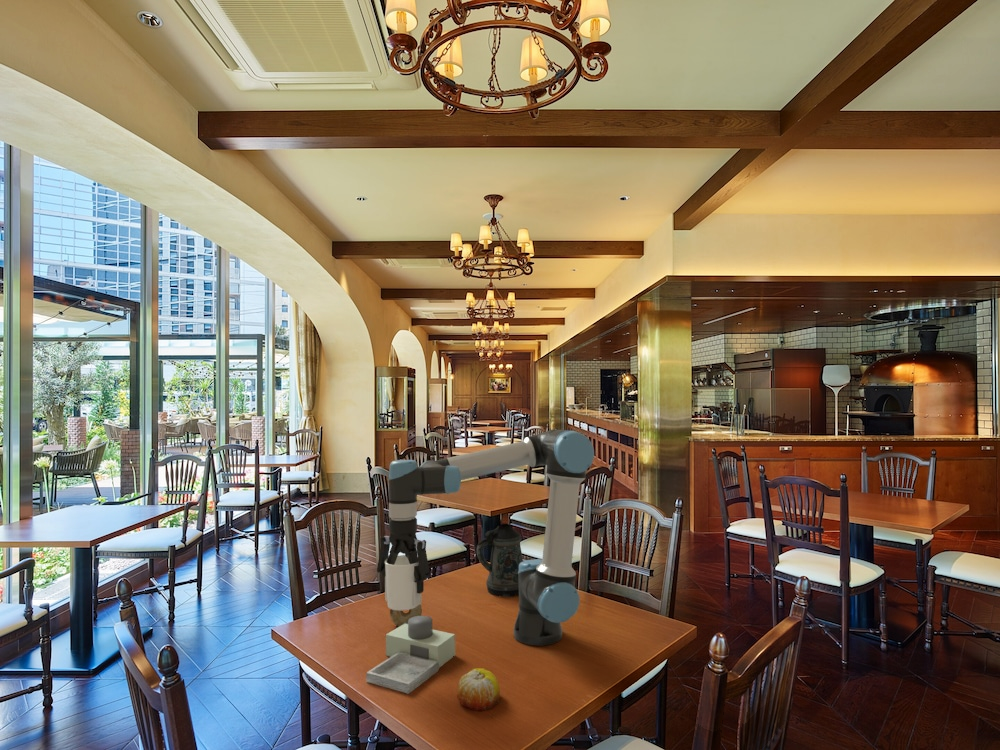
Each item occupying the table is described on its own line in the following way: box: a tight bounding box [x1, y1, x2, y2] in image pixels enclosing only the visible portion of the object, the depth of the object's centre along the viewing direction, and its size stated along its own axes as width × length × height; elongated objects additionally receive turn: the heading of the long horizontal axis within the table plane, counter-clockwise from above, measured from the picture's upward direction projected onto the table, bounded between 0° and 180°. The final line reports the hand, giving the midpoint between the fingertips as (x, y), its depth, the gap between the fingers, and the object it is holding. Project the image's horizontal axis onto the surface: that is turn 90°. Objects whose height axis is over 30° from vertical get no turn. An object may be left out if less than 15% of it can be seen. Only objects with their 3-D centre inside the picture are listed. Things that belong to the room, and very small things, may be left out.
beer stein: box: [476, 523, 524, 598], centre depth 216 cm, size 16×19×25 cm
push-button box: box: [385, 615, 456, 668], centre depth 162 cm, size 18×9×10 cm, turn 62°
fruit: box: [456, 667, 501, 711], centre depth 137 cm, size 11×10×8 cm
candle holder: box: [385, 554, 419, 611], centre depth 151 cm, size 10×10×12 cm
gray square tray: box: [365, 652, 440, 695], centre depth 150 cm, size 14×14×2 cm
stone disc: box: [389, 603, 423, 627], centre depth 183 cm, size 10×4×10 cm, turn 97°
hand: (403, 602), depth 151 cm, fingers closed on candle holder, 9 cm apart
